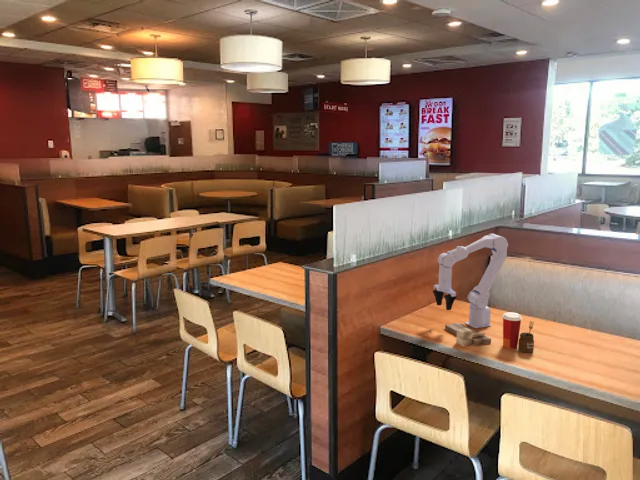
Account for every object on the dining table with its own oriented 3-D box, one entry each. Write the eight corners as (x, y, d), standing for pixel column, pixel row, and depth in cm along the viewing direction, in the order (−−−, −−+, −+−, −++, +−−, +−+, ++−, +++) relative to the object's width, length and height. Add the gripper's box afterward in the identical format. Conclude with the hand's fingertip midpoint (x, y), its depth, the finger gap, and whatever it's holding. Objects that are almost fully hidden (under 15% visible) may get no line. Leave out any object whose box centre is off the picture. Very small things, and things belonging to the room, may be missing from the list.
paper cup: (520, 344, 217) (522, 313, 215) (519, 351, 211) (521, 318, 208) (501, 341, 221) (503, 310, 218) (499, 348, 214) (501, 316, 211)
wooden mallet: (480, 338, 225) (481, 325, 224) (486, 341, 221) (487, 328, 220) (456, 342, 220) (456, 329, 219) (462, 346, 216) (462, 332, 215)
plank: (459, 326, 240) (459, 322, 239) (490, 343, 219) (491, 338, 219) (445, 328, 237) (445, 324, 236) (475, 345, 216) (475, 341, 216)
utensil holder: (515, 350, 212) (517, 322, 210) (523, 346, 215) (525, 319, 213) (528, 354, 207) (530, 326, 205) (536, 350, 211) (538, 323, 209)
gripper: (428, 276, 241) (427, 304, 243) (447, 283, 228) (445, 313, 230) (441, 275, 243) (440, 302, 246) (460, 282, 230) (458, 311, 233)
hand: (443, 307), depth 238 cm, fingers open, 7 cm apart
